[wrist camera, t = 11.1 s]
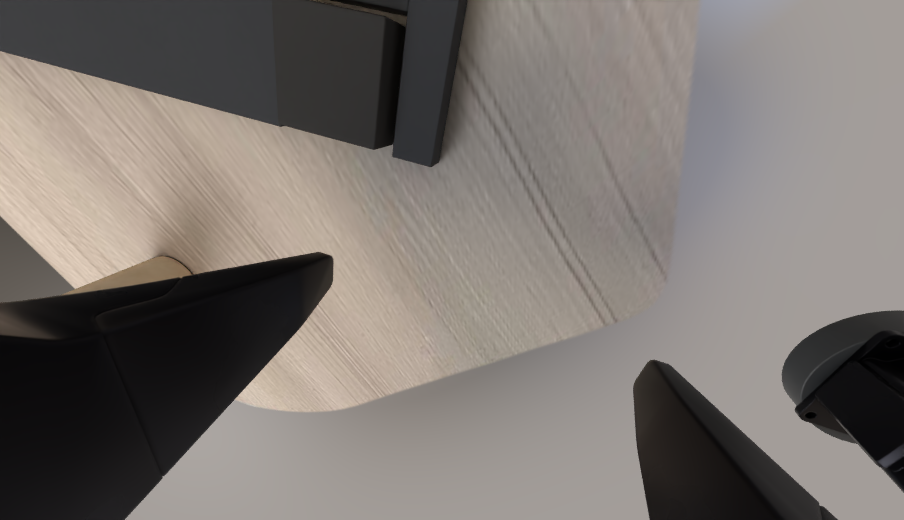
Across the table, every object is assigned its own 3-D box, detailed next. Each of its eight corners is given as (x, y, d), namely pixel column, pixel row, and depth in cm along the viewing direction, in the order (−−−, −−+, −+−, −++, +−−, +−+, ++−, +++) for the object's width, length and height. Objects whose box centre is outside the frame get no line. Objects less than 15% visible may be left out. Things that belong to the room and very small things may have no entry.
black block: (406, 26, 17) (385, 16, 15) (393, 145, 20) (374, 150, 18) (303, 4, 18) (270, -9, 16) (305, 121, 21) (277, 124, 18)
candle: (211, 307, 31) (81, 387, 22) (170, 306, 33) (33, 380, 24) (183, 254, 29) (27, 321, 20) (141, 256, 30) (-21, 318, 22)
